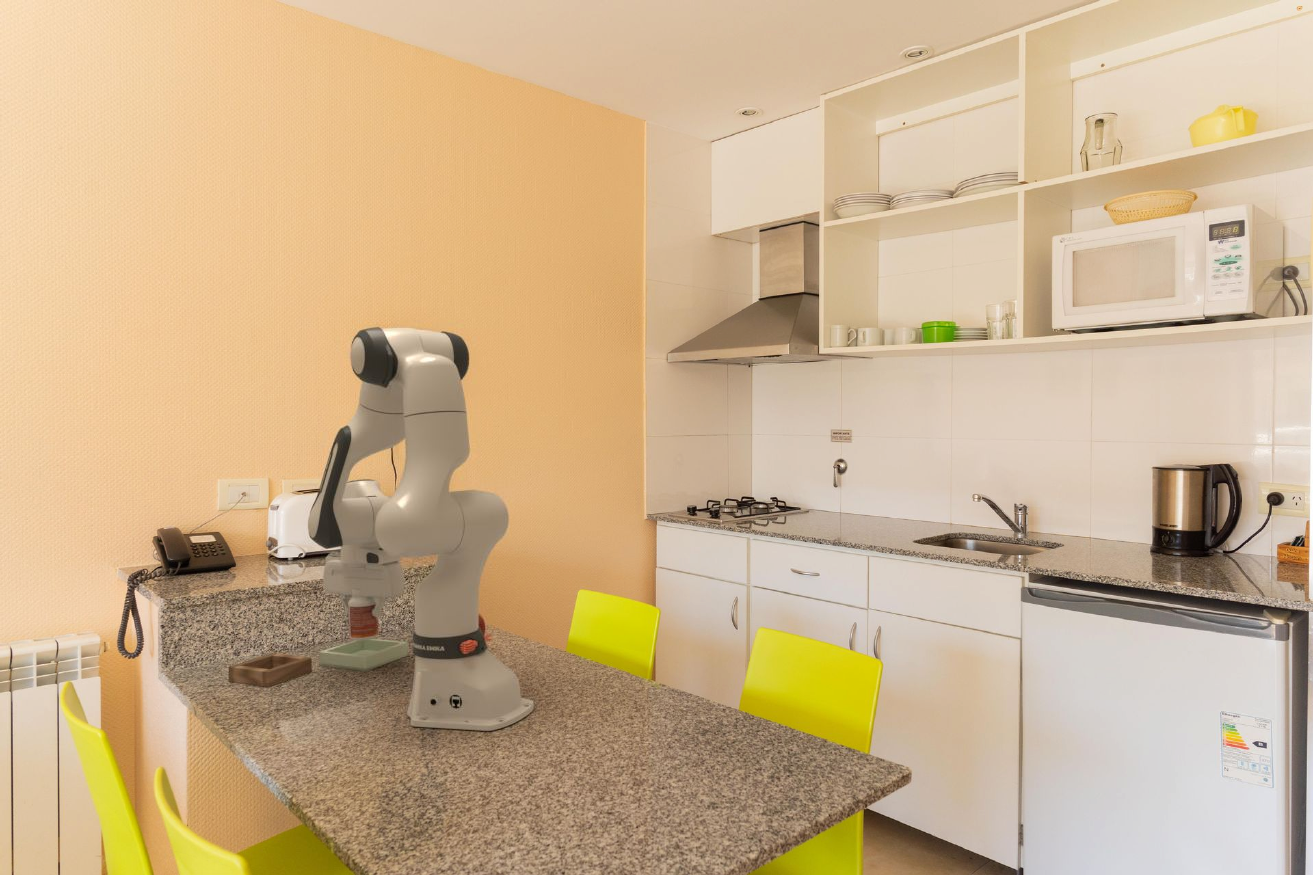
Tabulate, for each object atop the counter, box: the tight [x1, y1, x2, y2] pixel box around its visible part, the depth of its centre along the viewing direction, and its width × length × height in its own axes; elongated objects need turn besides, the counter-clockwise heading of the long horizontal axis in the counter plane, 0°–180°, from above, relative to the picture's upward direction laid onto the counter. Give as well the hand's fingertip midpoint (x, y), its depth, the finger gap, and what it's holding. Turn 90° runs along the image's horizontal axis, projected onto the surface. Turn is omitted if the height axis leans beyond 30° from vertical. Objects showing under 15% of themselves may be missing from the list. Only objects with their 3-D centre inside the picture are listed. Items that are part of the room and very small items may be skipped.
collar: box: [228, 652, 313, 688], centre depth 167 cm, size 11×11×3 cm
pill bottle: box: [347, 589, 380, 641], centre depth 178 cm, size 6×6×11 cm
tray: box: [318, 638, 409, 672], centre depth 178 cm, size 13×13×3 cm
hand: (363, 615), depth 178 cm, fingers closed on pill bottle, 6 cm apart
